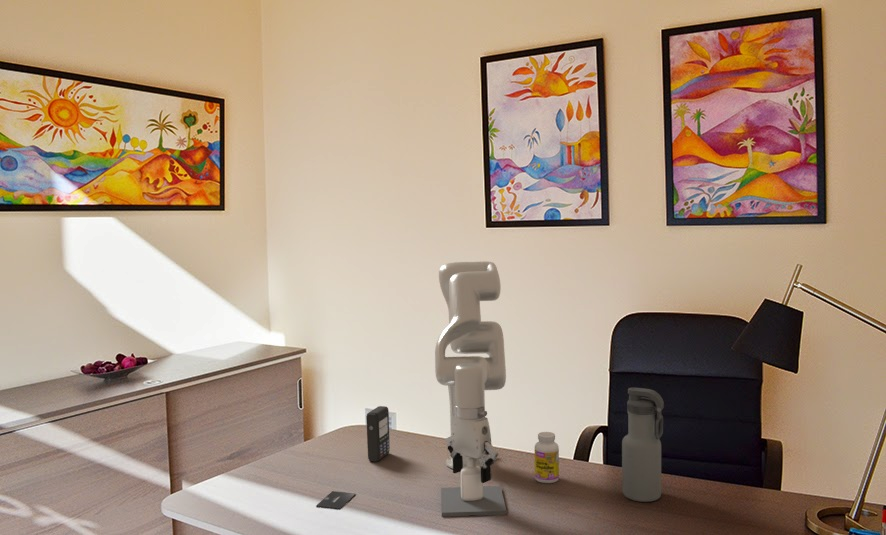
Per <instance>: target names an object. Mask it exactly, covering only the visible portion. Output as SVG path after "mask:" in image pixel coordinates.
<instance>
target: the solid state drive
mask: <svg viewBox="0 0 886 535" xmlns="http://www.w3.org/2000/svg"><path fill="white" fill-rule="evenodd" d="M355 496H356V492H355V493H354V492H345V491H335V490H332V491H331V492H330V493H329V494H327V495H326V496H325V497H324V498H323V499H322V500H321V501H320V502H318V503H317V504H316V505H315V507H316V508H320V507H321V509H331V510H341V508H342V507H343V506H344V505H345V504H346V503H347V502H348V503H349V502H350V501H351V500H352V499H353V498H354V497H355ZM348 503H347V504H348ZM347 504H346V505H347ZM346 505H345V506H346ZM345 506H344V507H345ZM344 507H343V508H344ZM343 508H342V509H343Z"/></svg>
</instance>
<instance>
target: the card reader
mask: <svg viewBox="0 0 886 535" xmlns="http://www.w3.org/2000/svg"><path fill="white" fill-rule="evenodd" d="M389 415H390V412H389V407H387V406H383V405H378V406H377V407H376V408H374V409H372V410H371V411H369V412H367V414H366V416H365V417H366V442H367V443H366V444H367V445H366V446H367V459H368V461H370V462H379V461H381V459H383V458H385V457H386V456H387V455H388V454H390V449H391V448H390V416H389Z"/></svg>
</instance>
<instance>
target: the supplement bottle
mask: <svg viewBox="0 0 886 535" xmlns="http://www.w3.org/2000/svg"><path fill="white" fill-rule="evenodd" d="M537 439H538V441H537V442H536V443H535V444H534V478H535V480H536V481H537V482H539V483H542V484H553V483H556V482H557V481H559V479H560V478H559V477H560V458H559V457H560V453H559V452H560V449H559V448H560V446H559V445H558V443H557V442H556V434H555V432H551V431H550V432H549V431H541V432H538V434H537Z"/></svg>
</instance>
